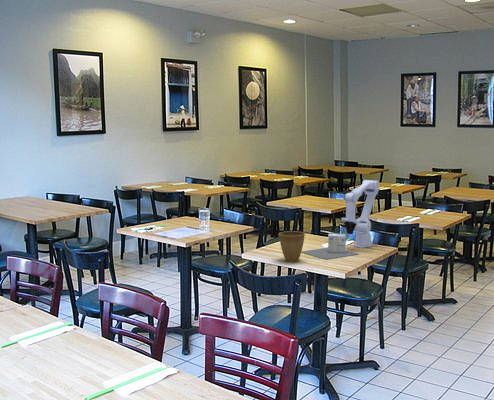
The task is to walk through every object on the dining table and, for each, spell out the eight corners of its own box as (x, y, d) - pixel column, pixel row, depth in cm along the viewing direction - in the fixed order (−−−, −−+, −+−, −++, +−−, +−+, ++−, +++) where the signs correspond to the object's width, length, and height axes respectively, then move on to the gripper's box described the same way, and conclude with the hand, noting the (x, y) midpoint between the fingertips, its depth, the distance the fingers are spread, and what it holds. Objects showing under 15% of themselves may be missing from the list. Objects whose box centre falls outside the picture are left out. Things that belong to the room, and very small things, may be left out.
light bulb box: (345, 250, 358) (345, 233, 356) (345, 252, 351) (346, 235, 350) (327, 250, 359) (328, 233, 357) (328, 252, 352) (328, 235, 351)
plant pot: (302, 257, 340) (303, 230, 338) (305, 263, 326) (306, 235, 324) (277, 257, 340) (277, 230, 338) (279, 263, 325) (279, 235, 323)
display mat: (332, 247, 369) (332, 246, 369) (358, 254, 349) (358, 253, 349) (300, 252, 354) (300, 251, 354) (326, 259, 335) (326, 259, 335)
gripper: (337, 211, 362) (337, 232, 363) (354, 214, 350) (353, 236, 351) (346, 210, 365) (345, 231, 367) (362, 213, 353) (361, 235, 355)
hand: (349, 233), depth 359 cm, fingers closed
